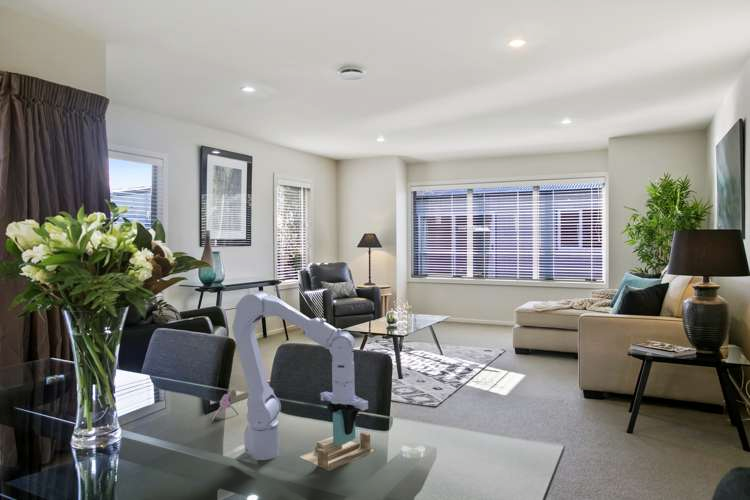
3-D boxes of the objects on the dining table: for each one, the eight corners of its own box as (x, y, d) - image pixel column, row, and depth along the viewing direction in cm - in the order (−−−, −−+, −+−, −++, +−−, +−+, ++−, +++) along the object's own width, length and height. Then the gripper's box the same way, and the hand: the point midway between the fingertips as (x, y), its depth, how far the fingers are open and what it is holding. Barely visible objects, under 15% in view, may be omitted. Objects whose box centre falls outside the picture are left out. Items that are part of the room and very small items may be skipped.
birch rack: (299, 461, 135) (298, 441, 135) (344, 443, 146) (344, 424, 146) (329, 475, 126) (328, 454, 126) (374, 455, 138) (374, 435, 138)
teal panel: (333, 443, 132) (332, 412, 132) (348, 436, 137) (347, 406, 137) (340, 446, 131) (339, 414, 131) (355, 438, 136) (354, 408, 135)
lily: (227, 411, 178) (212, 389, 176) (255, 400, 175) (240, 377, 173) (212, 434, 167) (196, 411, 165) (241, 423, 164) (225, 399, 162)
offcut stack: (314, 452, 137) (314, 443, 137) (333, 444, 142) (333, 435, 142) (323, 456, 135) (323, 447, 135) (342, 448, 139) (342, 439, 139)
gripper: (312, 379, 135) (313, 430, 135) (355, 388, 126) (356, 443, 126) (330, 373, 140) (331, 422, 141) (372, 381, 132) (373, 434, 132)
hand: (344, 432), depth 134 cm, fingers closed on teal panel, 2 cm apart
